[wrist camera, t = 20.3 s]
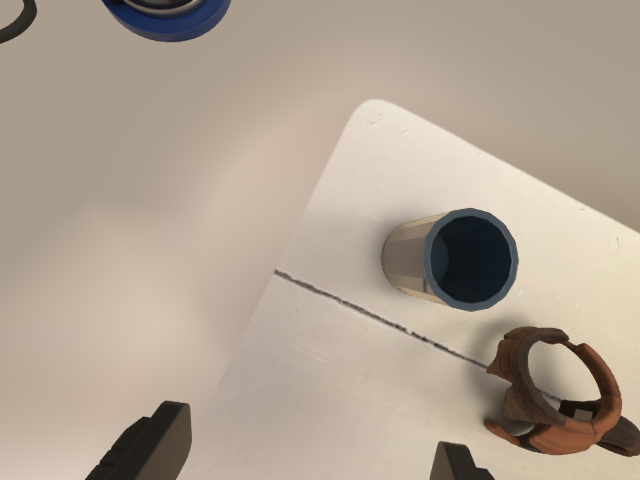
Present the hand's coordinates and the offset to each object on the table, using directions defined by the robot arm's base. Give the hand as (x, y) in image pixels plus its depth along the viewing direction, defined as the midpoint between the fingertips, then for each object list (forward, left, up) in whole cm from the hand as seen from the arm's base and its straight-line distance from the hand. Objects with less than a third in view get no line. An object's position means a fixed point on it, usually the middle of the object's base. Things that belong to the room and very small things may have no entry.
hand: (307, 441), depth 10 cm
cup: (+12, +4, -16) cm, 20 cm away
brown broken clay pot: (+20, -9, -16) cm, 27 cm away
